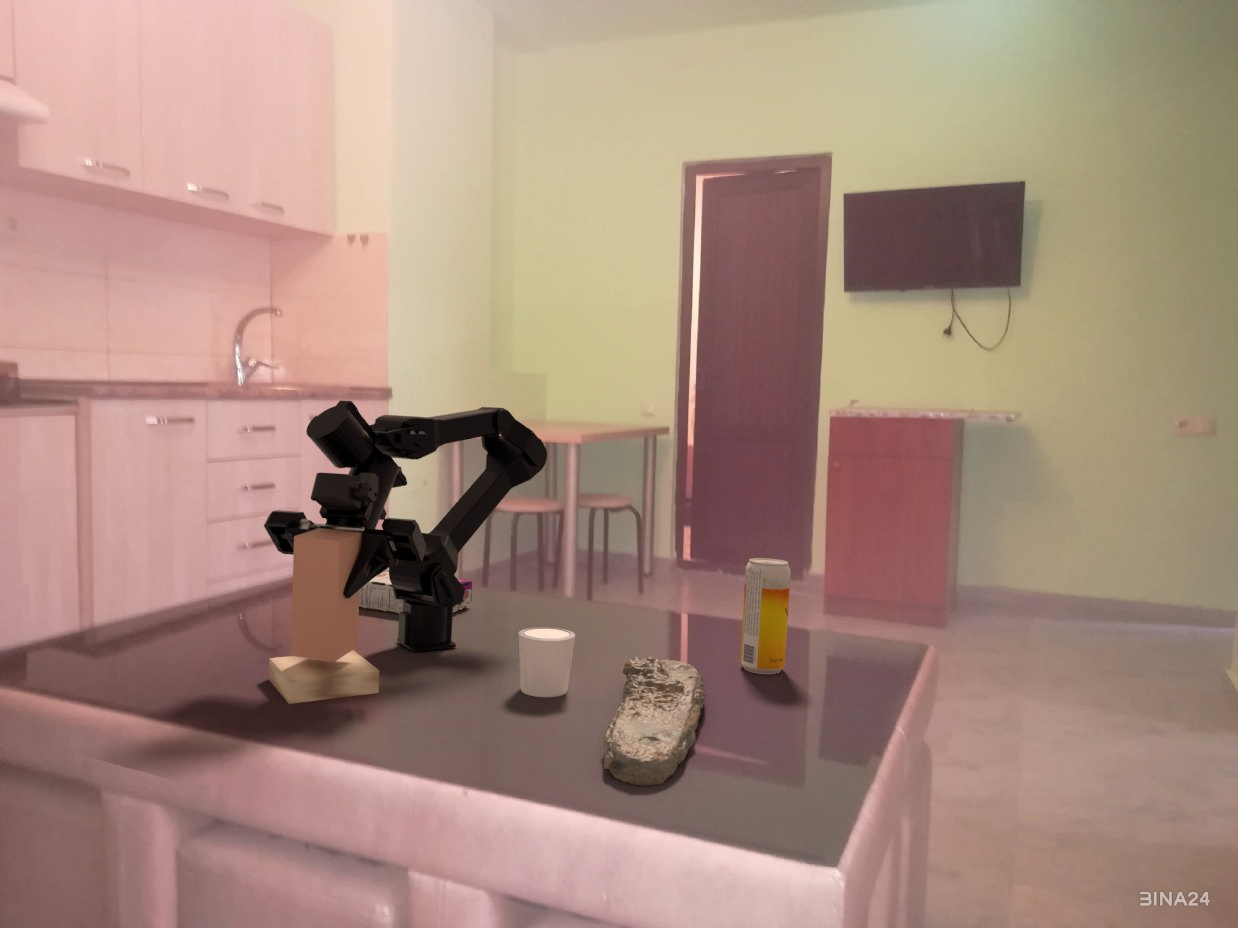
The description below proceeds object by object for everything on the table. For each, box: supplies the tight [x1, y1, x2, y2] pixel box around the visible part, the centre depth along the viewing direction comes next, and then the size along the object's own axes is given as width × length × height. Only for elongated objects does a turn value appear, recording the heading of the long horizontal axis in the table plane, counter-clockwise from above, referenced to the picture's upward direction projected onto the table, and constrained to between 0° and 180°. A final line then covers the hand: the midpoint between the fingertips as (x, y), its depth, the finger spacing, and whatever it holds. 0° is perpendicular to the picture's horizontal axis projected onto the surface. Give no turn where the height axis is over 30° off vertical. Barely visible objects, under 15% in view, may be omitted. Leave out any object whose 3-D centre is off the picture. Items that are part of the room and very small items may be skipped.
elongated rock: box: [602, 656, 706, 787], centre depth 97 cm, size 35×5×10 cm
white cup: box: [518, 626, 576, 698], centre depth 107 cm, size 7×7×7 cm
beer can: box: [739, 557, 792, 675], centre depth 121 cm, size 6×6×15 cm
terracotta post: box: [290, 528, 362, 662], centre depth 103 cm, size 6×6×14 cm
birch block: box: [268, 649, 380, 705], centre depth 104 cm, size 10×10×3 cm
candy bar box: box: [359, 570, 473, 614], centre depth 148 cm, size 11×5×16 cm
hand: (321, 594), depth 102 cm, fingers closed on terracotta post, 6 cm apart
